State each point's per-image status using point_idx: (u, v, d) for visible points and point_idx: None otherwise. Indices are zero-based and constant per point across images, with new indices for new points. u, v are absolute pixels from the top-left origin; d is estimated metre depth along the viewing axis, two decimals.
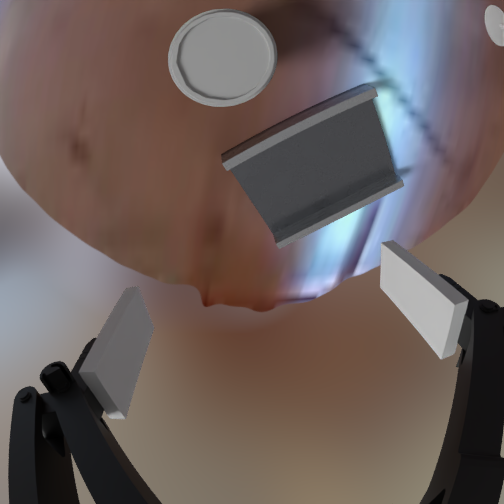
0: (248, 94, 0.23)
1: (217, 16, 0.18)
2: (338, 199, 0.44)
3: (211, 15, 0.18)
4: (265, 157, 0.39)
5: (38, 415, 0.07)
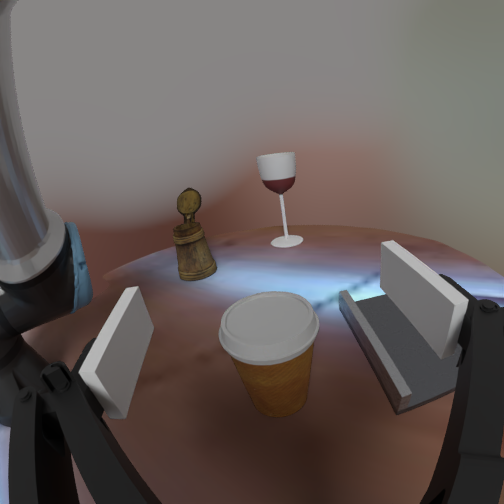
0: (309, 306, 0.27)
1: (228, 313, 0.29)
2: None
3: (224, 315, 0.28)
4: (405, 373, 0.29)
5: (38, 415, 0.07)
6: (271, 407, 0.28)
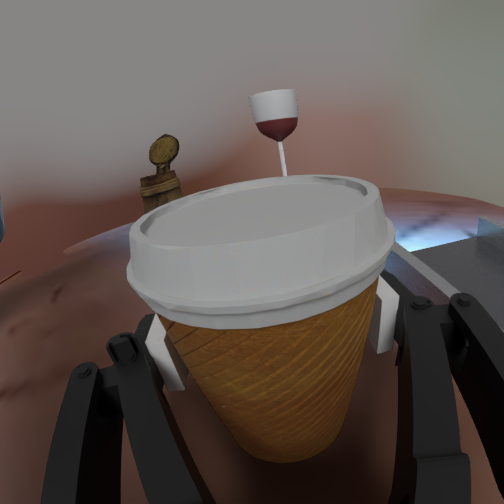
0: (359, 181, 0.10)
1: (162, 211, 0.12)
2: None
3: (151, 211, 0.11)
4: None
5: (95, 394, 0.08)
6: (270, 447, 0.11)
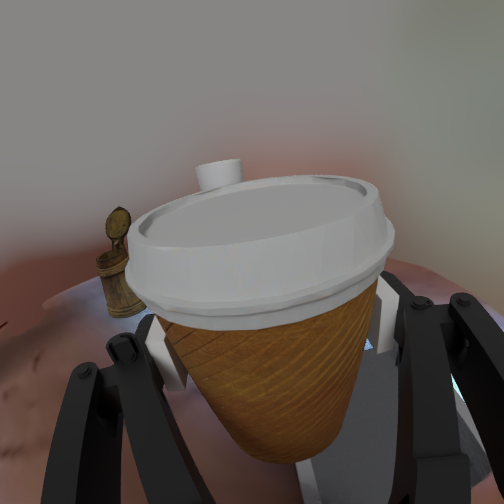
0: (358, 181, 0.10)
1: (160, 211, 0.12)
2: None
3: (150, 212, 0.11)
4: (342, 494, 0.17)
5: (95, 394, 0.08)
6: (269, 448, 0.11)
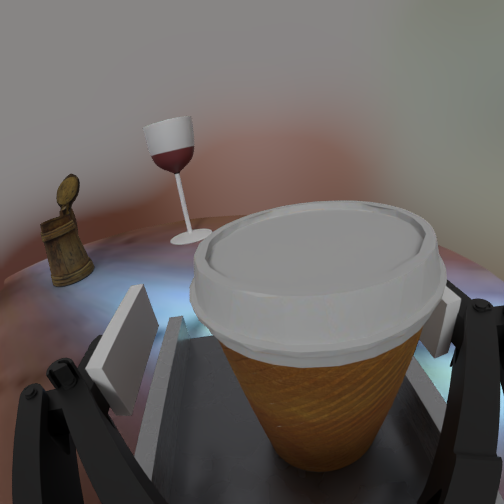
0: (410, 214, 0.10)
1: (217, 237, 0.12)
2: None
3: (208, 238, 0.12)
4: None
5: (44, 412, 0.07)
6: (314, 458, 0.11)
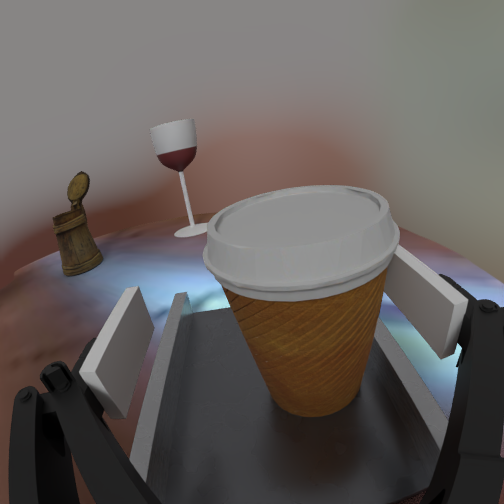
0: (378, 197, 0.13)
1: (228, 212, 0.16)
2: None
3: (220, 212, 0.15)
4: (201, 462, 0.14)
5: (38, 415, 0.07)
6: (298, 400, 0.15)
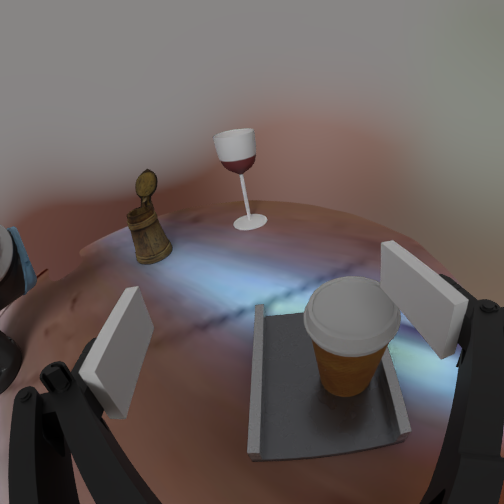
0: None
1: (316, 294, 0.28)
2: None
3: (313, 295, 0.28)
4: (282, 420, 0.29)
5: (38, 415, 0.07)
6: (336, 388, 0.29)
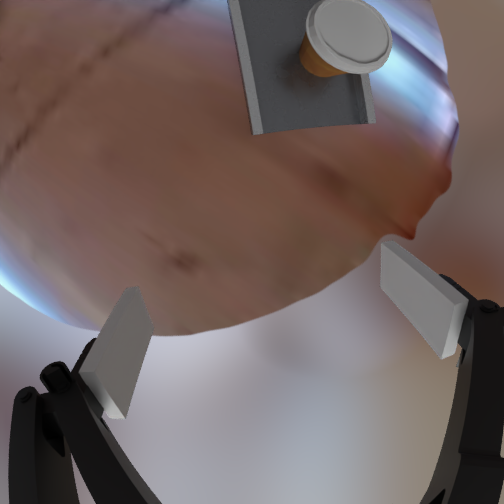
0: (390, 38, 0.22)
1: (320, 10, 0.21)
2: None
3: (317, 12, 0.21)
4: (270, 96, 0.35)
5: (38, 415, 0.07)
6: (317, 72, 0.32)
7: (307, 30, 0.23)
